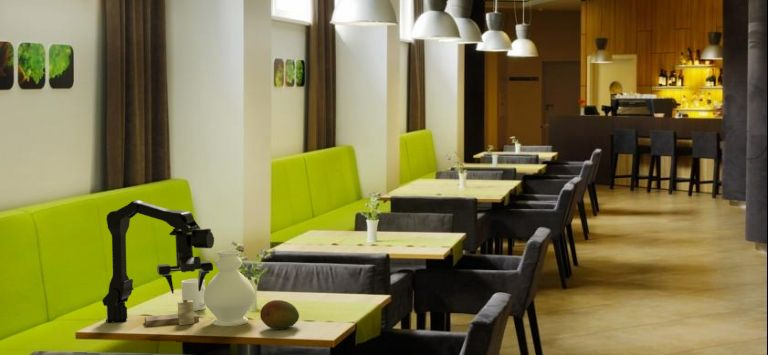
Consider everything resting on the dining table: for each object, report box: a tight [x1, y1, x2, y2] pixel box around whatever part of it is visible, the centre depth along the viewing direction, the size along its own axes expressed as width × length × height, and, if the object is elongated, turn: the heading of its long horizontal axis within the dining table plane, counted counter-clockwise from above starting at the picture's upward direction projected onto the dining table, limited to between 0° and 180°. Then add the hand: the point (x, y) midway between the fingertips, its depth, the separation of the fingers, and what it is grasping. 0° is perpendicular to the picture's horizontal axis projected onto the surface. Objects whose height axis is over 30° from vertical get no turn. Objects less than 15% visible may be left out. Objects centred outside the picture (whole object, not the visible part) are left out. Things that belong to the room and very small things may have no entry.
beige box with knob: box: [177, 299, 195, 326], centre depth 392 cm, size 5×10×8 cm, turn 19°
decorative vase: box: [204, 249, 256, 327], centre depth 389 cm, size 18×18×25 cm
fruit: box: [259, 299, 300, 330], centre depth 379 cm, size 12×12×10 cm
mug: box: [181, 278, 207, 312], centre depth 413 cm, size 9×12×11 cm
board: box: [144, 311, 200, 328], centre depth 393 cm, size 18×7×2 cm, turn 109°
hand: (186, 292), depth 388 cm, fingers open, 9 cm apart
